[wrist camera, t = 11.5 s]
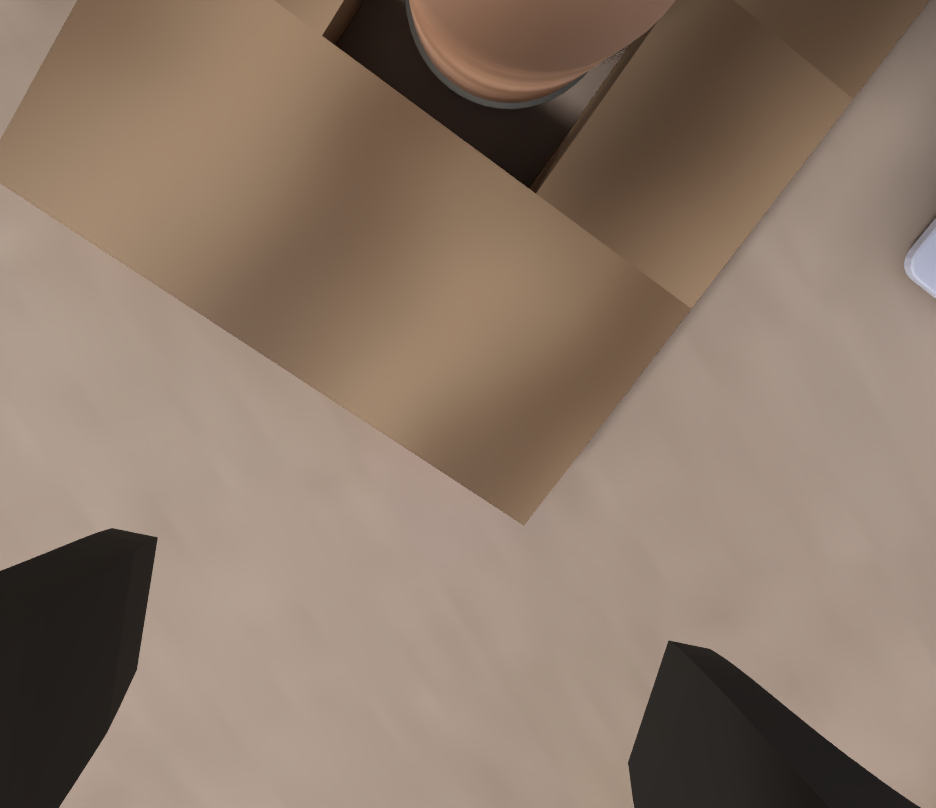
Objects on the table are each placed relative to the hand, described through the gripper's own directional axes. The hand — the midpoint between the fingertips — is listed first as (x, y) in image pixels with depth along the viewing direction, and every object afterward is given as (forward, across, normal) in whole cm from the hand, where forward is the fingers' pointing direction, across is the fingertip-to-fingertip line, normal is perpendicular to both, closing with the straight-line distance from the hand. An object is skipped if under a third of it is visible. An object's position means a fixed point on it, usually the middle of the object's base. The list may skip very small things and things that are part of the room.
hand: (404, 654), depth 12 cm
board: (+10, 0, -10) cm, 14 cm away
